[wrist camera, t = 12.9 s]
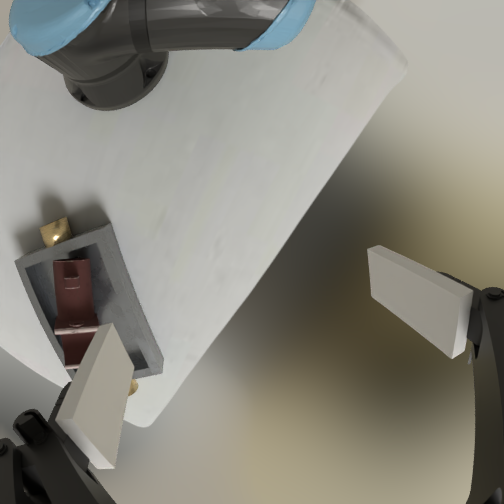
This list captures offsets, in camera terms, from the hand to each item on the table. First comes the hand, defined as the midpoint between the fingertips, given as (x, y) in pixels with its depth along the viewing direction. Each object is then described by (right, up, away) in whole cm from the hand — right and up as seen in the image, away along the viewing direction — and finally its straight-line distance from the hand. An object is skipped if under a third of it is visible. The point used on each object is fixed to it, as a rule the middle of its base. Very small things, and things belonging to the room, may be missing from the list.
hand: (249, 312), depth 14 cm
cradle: (-24, -6, +27) cm, 37 cm away
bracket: (-25, -6, +26) cm, 36 cm away
